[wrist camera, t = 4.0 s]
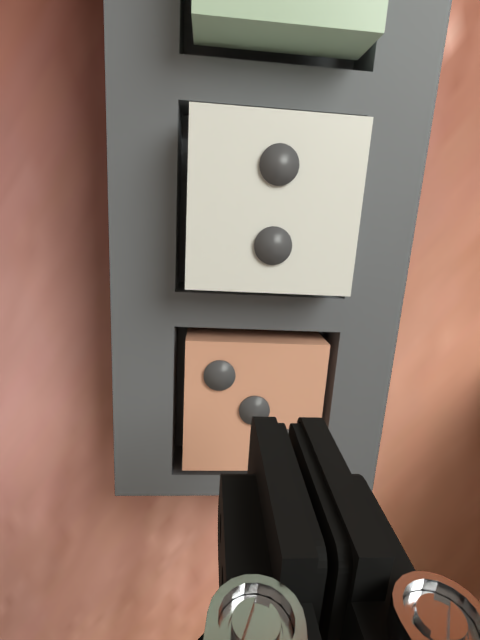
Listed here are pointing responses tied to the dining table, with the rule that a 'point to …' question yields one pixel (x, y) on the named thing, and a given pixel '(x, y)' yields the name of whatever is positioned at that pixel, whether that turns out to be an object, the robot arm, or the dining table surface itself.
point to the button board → (171, 209)
